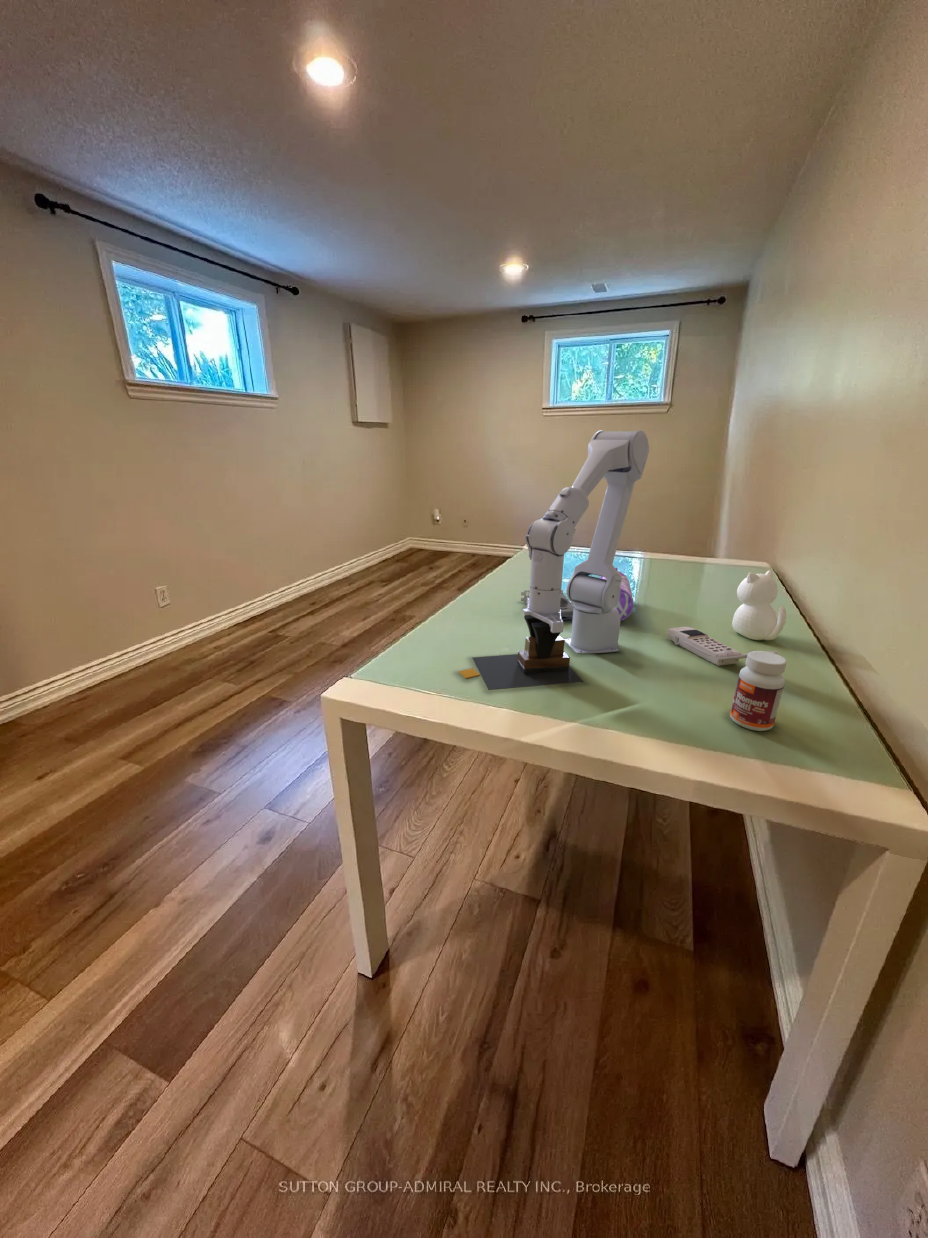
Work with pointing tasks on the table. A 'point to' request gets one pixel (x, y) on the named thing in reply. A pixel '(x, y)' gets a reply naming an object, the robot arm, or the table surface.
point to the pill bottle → (759, 691)
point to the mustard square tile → (469, 673)
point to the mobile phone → (705, 646)
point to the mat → (517, 673)
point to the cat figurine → (758, 608)
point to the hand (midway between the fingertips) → (540, 654)
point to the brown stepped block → (534, 664)
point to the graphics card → (564, 604)
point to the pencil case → (624, 598)
